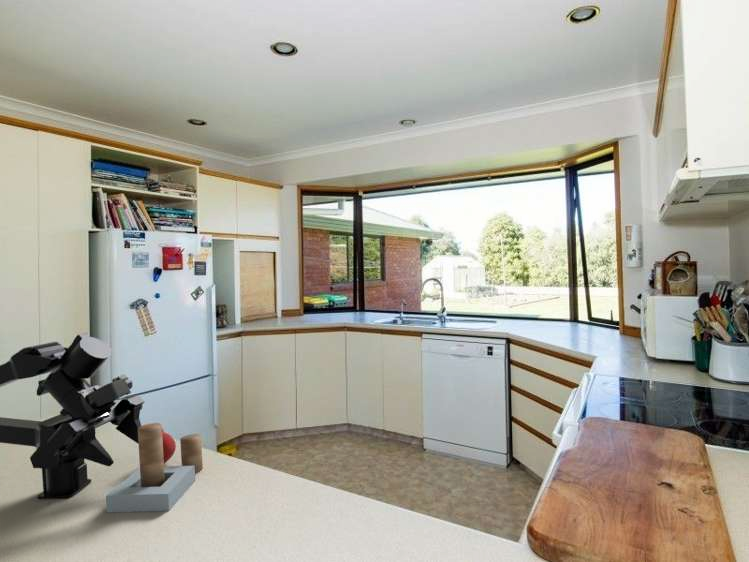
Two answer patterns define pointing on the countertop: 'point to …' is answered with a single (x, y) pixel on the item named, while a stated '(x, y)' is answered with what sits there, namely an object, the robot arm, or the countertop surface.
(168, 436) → the onion
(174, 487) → the collar block
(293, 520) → the countertop surface
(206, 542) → the countertop surface
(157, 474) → the walnut peg long
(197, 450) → the walnut peg short
